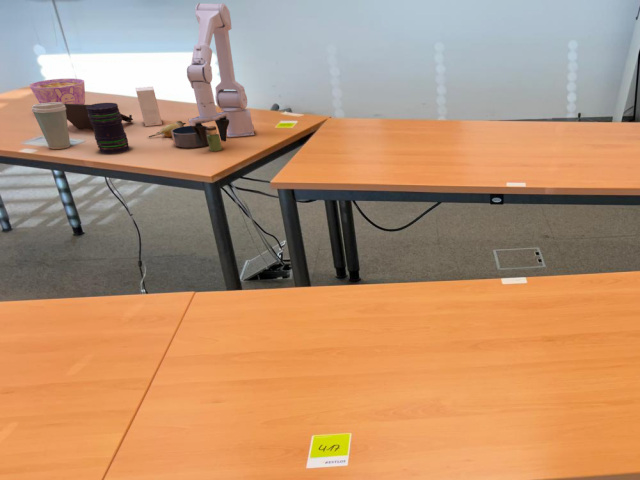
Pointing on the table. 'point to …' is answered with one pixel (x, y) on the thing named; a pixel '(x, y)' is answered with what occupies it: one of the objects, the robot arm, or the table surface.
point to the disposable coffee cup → (53, 123)
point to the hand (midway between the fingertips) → (214, 143)
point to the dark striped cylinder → (108, 128)
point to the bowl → (186, 137)
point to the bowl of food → (59, 91)
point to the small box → (148, 106)
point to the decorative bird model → (169, 129)
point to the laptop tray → (83, 116)
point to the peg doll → (213, 139)
